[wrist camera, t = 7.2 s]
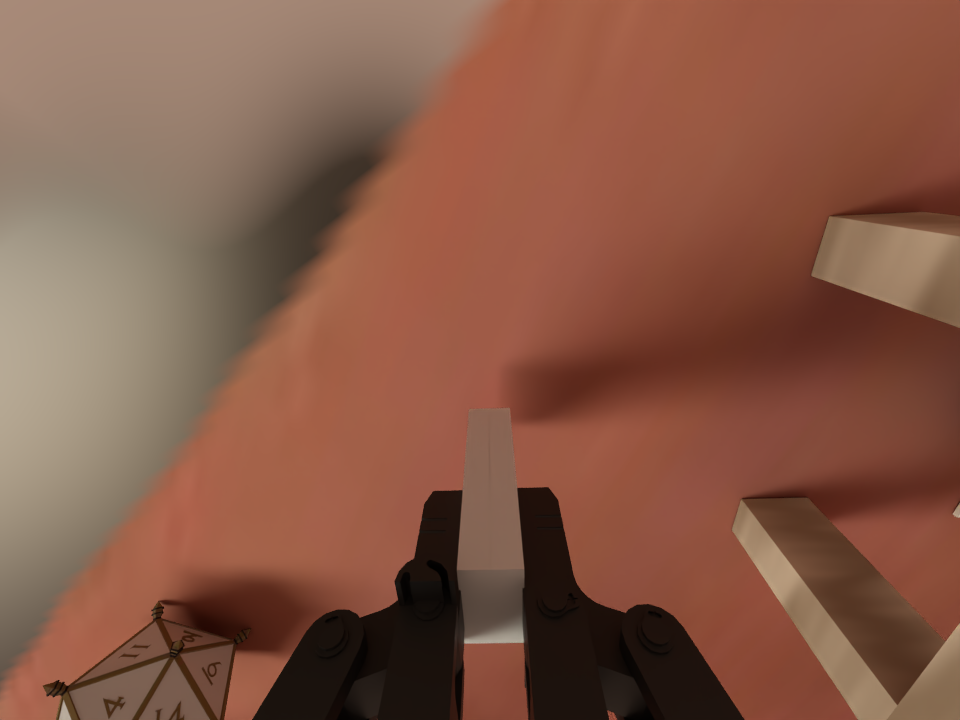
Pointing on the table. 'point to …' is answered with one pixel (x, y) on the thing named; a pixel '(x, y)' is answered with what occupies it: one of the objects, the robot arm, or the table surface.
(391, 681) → the robot arm
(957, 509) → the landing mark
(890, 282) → the bridge
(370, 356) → the table surface
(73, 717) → the game die
